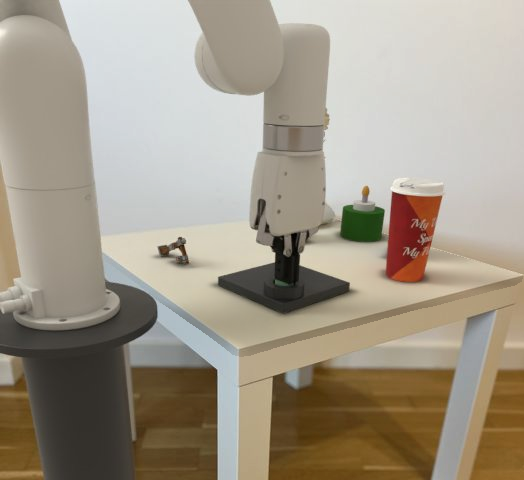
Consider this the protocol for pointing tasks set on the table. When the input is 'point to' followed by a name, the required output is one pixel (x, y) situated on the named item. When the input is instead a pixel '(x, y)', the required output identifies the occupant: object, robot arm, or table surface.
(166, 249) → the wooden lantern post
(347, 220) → the candle
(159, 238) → the table surface
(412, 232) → the coffee cup
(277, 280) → the button
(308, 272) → the dark grey flat block
